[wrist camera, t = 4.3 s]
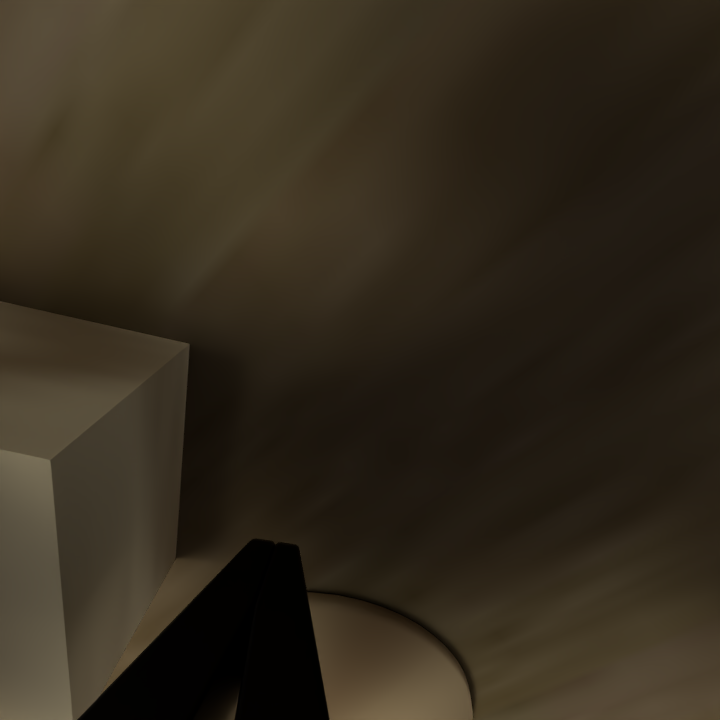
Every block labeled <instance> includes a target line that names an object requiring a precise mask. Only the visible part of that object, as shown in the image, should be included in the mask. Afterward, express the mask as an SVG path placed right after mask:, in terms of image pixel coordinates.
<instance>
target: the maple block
mask: <svg viewBox="0 0 720 720" xmlns="http://www.w3.org/2000/svg"><path fill="white" fill-rule="evenodd" d="M189 348H190V344H188V343H184V342H179V341H175V340H170V339H166V338H162V337H157V336H153V335H148V334H144V333H139V332H135V331H130V330H126V329H122V328H117V327H113V326H108V325H104V324H99V323H95V322H90V321H86V320H82V319H77V318H73V317H68V316H64V315H59V314H55V313H50V312H46V311H42V310H37V309H33V308H28V307H24V306H19V305H15V304H10V303H6V302H2V301H0V720H77V719H78V718H79V717H80V716H81V715H82V714H83V713H84V712H85V711H86V710H87V709H88V708H89V707H90V706H91V705H92V704H93V703H94V702H95V701H96V699H97V698H98V697H99V695H100V694H101V692H102V690H103V688H104V686H105V685H106V683H107V681H108V679H109V677H110V676H111V674H112V672H113V670H114V668H115V667H116V665H117V663H118V661H119V659H120V658H121V656H122V654H123V652H124V651H125V649H126V647H127V645H128V643H129V642H130V640H131V638H132V636H133V634H134V633H135V631H136V629H137V627H138V625H139V624H140V622H141V620H142V618H143V616H144V615H145V613H146V611H147V609H148V607H149V606H150V604H151V602H152V600H153V598H154V597H155V595H156V593H157V591H158V590H159V588H160V586H161V584H162V582H163V581H164V579H165V577H166V575H167V573H168V572H169V570H170V568H171V566H172V564H173V563H174V561H175V559H176V547H177V532H178V517H179V501H180V486H181V471H182V455H183V440H184V425H185V409H186V394H187V379H188V363H189Z"/></svg>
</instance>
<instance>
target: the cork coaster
mask: <svg viewBox="0 0 720 720" xmlns="http://www.w3.org/2000/svg"><path fill="white" fill-rule="evenodd" d="M307 595H308V600H309V606H310V611H311V617H312V623H313V628H314V634H315V639H316V645H317V651H318V656H319V662H320V667H321V673H322V679H323V684H324V690H325V695H326V701H327V707H328V712H329V718H330V720H473V710H472V702H471V696H470V690H469V685H468V682H467V679H466V676H465V673H464V671H463V670H462V668H461V666H460V664H459V663H458V661H457V659H456V658H455V657H454V656H453V654H452V653H451V652H450V651H449V649H448V648H447V647H446V646H445V645H444V644H443V643H441V642H440V641H439V640H438V639H437V638H436V637H435V636H434V635H432V634H431V633H430V632H428V631H427V630H425V629H424V628H423V627H421V626H420V625H418V624H417V623H415V622H413V621H411V620H409V619H407V618H406V617H404V616H402V615H400V614H398V613H395V612H393V611H391V610H388V609H386V608H383V607H381V606H378V605H375V604H371V603H368V602H365V601H362V600H358V599H353V598H348V597H344V596H339V595H332V594H323V593H314V592H307Z"/></svg>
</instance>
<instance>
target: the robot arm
mask: <svg viewBox="0 0 720 720" xmlns="http://www.w3.org/2000/svg"><path fill="white" fill-rule="evenodd" d="M77 720H330V718H329V712H328V707H327V701H326V695H325V690H324V684H323V679H322V673H321V667H320V662H319V656H318V651H317V645H316V639H315V634H314V628H313V623H312V617H311V611H310V606H309V600H308V595H307V589H306V583H305V578H304V572H303V567H302V561H301V555H300V550H299V547H298V546H297V545H295V544H289V543H282V542H278V543H277V544H276V545H275V543H274V542H273V541H269V540H263V539H252V540H251V541H250V542H249V543H248V544H247V545H246V546H245V547H244V548H243V549H242V550H241V551H240V552H239V553H238V554H237V555H236V556H235V557H234V558H233V559H232V560H231V561H230V562H229V563H228V564H227V565H226V566H225V567H224V568H223V569H222V570H221V571H220V572H219V573H218V574H217V576H216V577H215V578H214V579H213V580H212V581H211V582H210V583H209V584H208V585H207V586H206V587H205V588H204V589H203V590H202V591H201V592H200V593H199V594H198V595H197V596H196V597H195V598H194V599H193V600H192V601H191V602H190V603H189V604H188V605H187V607H186V608H185V609H184V610H183V611H182V612H181V613H180V614H179V615H178V616H177V617H176V618H175V619H174V620H173V621H172V622H171V623H170V624H169V625H168V626H167V627H166V628H165V629H164V630H163V631H162V632H161V633H160V634H159V635H158V636H157V638H156V639H155V640H154V641H153V642H152V643H151V644H150V645H149V646H148V647H147V648H146V649H145V650H144V651H143V652H142V653H141V654H140V655H139V656H138V657H137V658H136V659H135V660H134V661H133V662H132V663H131V664H130V665H129V666H128V667H127V668H126V670H125V671H124V672H123V673H122V674H121V675H120V676H119V677H118V678H117V679H116V680H115V681H114V682H113V683H112V684H111V685H110V686H109V687H108V688H107V689H106V690H105V691H104V692H103V693H102V694H101V695H100V696H99V697H98V698H97V699H96V701H95V702H94V703H93V704H92V705H91V706H90V707H89V708H88V709H87V710H86V711H85V712H84V713H83V714H82V715H81V716H80V717H79V718H78V719H77Z"/></svg>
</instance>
